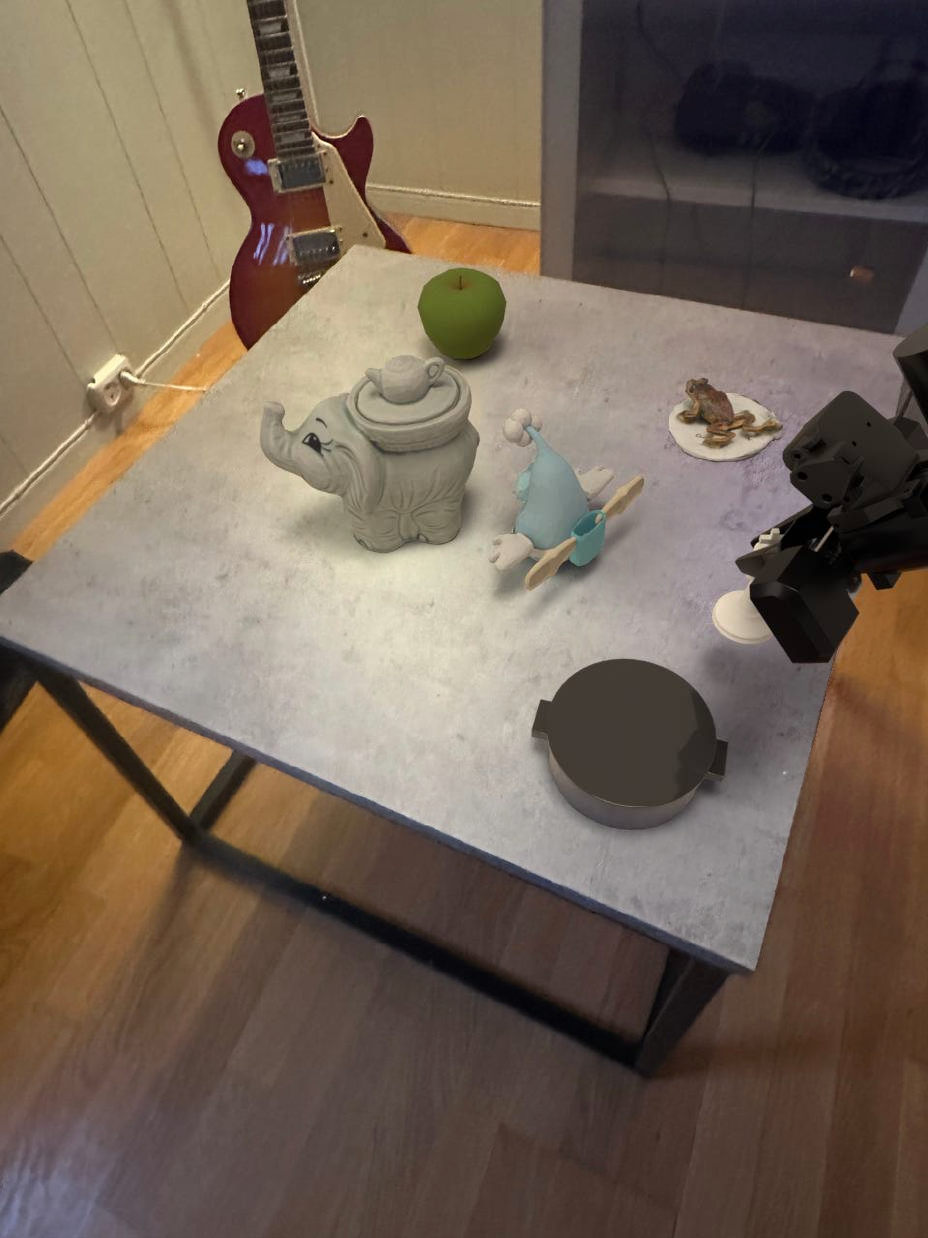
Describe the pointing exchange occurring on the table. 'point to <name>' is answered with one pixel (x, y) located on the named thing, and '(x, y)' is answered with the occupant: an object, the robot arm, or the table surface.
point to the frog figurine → (721, 424)
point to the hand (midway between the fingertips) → (746, 555)
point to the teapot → (386, 451)
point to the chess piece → (743, 608)
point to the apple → (462, 312)
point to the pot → (629, 742)
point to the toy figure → (555, 507)
